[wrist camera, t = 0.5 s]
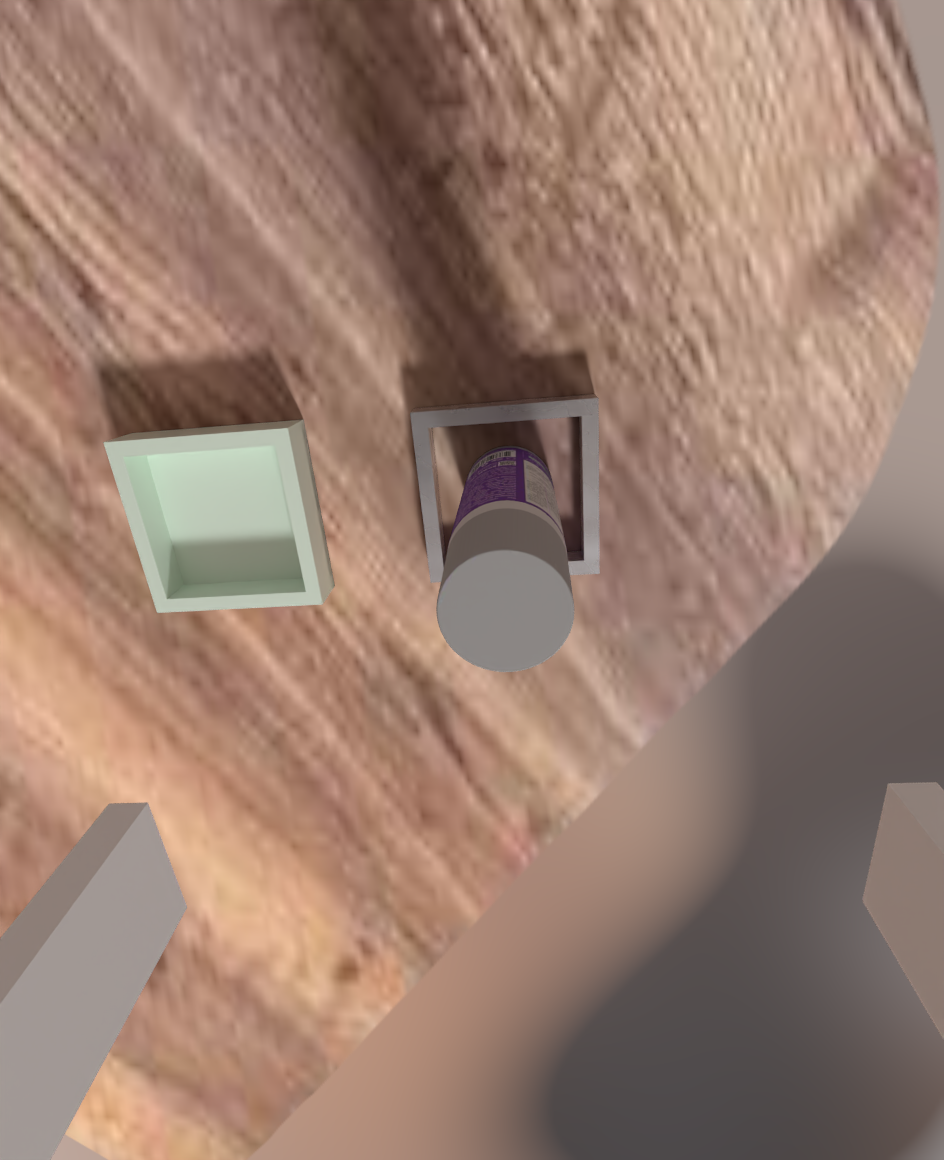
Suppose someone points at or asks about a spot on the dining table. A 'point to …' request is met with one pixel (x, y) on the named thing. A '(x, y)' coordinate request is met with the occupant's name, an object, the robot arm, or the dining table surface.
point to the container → (506, 566)
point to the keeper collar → (509, 412)
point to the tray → (224, 515)
